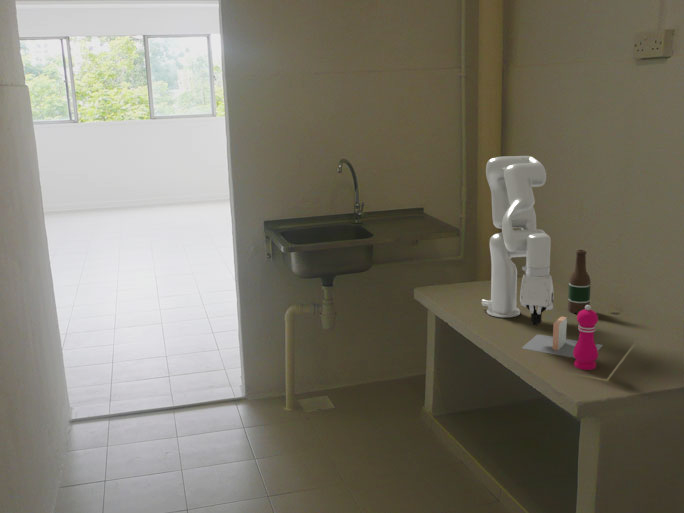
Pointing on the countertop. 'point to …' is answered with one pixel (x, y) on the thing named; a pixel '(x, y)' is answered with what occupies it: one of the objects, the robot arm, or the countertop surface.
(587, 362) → the pepper mill
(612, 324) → the countertop surface
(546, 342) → the mat
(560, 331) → the tile
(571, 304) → the beer bottle
